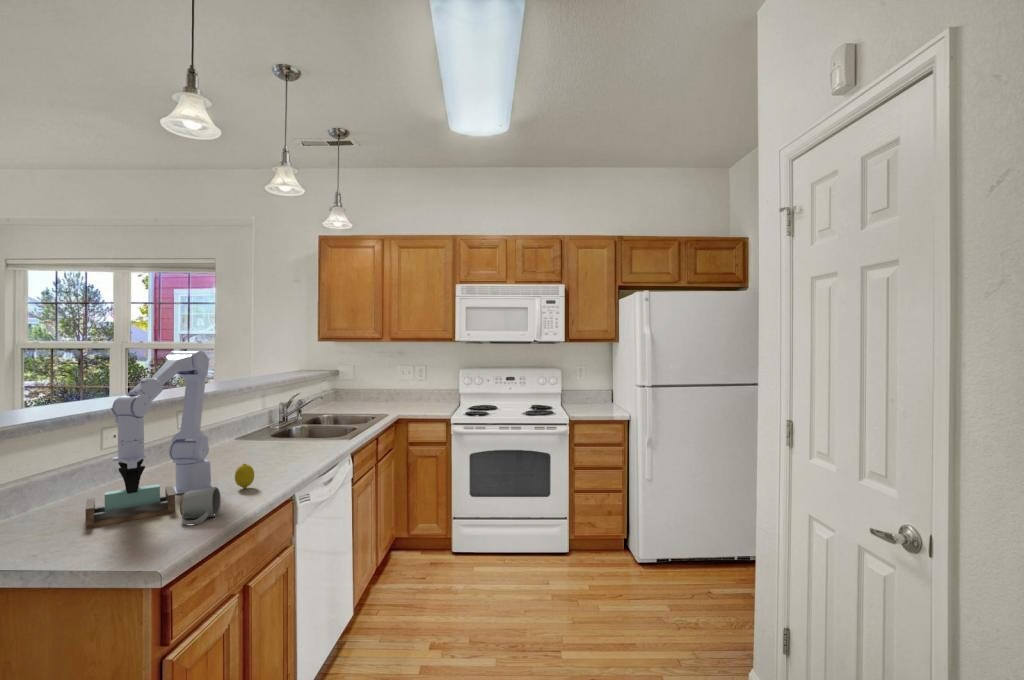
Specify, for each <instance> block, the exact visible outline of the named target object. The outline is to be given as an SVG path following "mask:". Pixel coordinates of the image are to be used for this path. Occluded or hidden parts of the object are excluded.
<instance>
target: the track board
mask: <svg viewBox="0 0 1024 680" xmlns="http://www.w3.org/2000/svg"><path fill="white" fill-rule="evenodd" d="M173 487H174V486H172V485H169V486H165V487H164V488H165V489H164V491H165V493H164V495H163V496H160V502H158V503H152V504H146V505H141V506H135V507H129V508H123V509H117V510H111V511H105V505H103V506H96V502H95V501H96V497H95V498H94V497H93V498H88V499H86V504H85V529H86V528H88V529H93V528H98V527H97V526H99V527H103V525H104V526H108V525H109V524H110V525H115V524H120V523H125V522H131V521H136V519H137V520H142V519H147V517H148V518H153V517H157V515H158V516H162V515H161V514H164V515H168V514H167V513H169V514H172V513H171V512H175V513H176V494H175V491H174V489H173ZM152 516H153V517H152ZM92 527H93V528H92Z"/></svg>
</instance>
